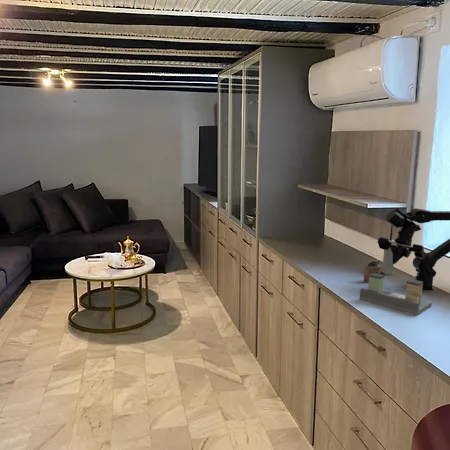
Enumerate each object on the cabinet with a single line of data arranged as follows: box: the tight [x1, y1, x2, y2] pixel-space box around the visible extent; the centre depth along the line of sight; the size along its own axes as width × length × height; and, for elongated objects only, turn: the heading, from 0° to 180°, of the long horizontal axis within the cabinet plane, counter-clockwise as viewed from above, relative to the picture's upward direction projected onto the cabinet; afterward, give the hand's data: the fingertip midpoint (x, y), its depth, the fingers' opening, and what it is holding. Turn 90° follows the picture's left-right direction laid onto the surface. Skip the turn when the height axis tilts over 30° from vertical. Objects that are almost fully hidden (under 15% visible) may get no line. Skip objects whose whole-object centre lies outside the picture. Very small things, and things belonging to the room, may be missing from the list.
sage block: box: [367, 273, 385, 293], centre depth 186 cm, size 4×5×9 cm
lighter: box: [362, 259, 382, 284], centre depth 212 cm, size 8×3×10 cm, turn 105°
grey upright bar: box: [380, 224, 395, 276], centre depth 226 cm, size 4×5×25 cm
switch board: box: [358, 288, 433, 316], centre depth 185 cm, size 15×23×4 cm, turn 47°
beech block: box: [404, 278, 423, 303], centre depth 179 cm, size 4×5×9 cm
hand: (393, 263), depth 195 cm, fingers closed
